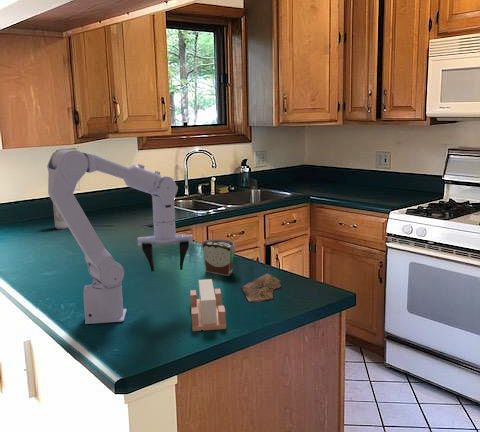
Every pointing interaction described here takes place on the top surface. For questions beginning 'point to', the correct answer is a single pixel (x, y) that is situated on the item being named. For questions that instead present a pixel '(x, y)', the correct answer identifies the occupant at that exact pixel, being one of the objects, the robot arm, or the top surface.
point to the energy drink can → (59, 219)
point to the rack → (196, 313)
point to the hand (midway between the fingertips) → (167, 269)
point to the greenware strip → (207, 301)
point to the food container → (218, 256)
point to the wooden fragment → (261, 288)
